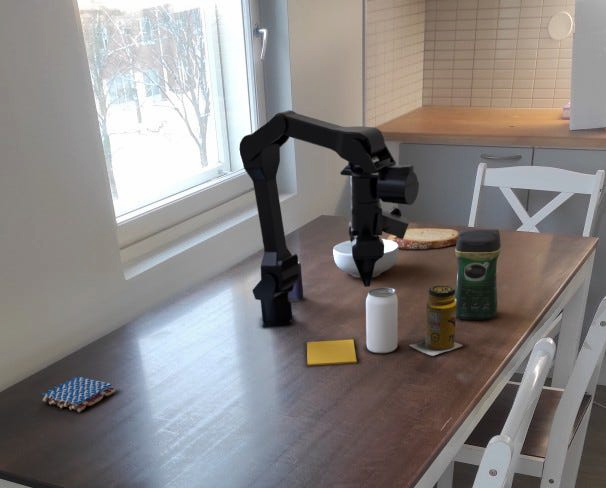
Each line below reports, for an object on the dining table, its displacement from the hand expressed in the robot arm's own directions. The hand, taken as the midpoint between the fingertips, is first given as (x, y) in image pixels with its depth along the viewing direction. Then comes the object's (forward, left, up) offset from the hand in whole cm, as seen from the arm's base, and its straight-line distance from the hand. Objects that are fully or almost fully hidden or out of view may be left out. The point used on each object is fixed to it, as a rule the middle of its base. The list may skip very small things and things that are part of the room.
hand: (365, 279), depth 168 cm
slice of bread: (+21, +71, -13) cm, 75 cm away
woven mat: (-58, -22, -13) cm, 63 cm away
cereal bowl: (+3, +46, -13) cm, 47 cm away
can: (+3, -6, -13) cm, 15 cm away
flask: (-18, +30, -13) cm, 37 cm away
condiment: (+14, -7, -13) cm, 20 cm away
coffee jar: (+25, +10, -13) cm, 30 cm away
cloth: (-8, -7, -13) cm, 17 cm away
